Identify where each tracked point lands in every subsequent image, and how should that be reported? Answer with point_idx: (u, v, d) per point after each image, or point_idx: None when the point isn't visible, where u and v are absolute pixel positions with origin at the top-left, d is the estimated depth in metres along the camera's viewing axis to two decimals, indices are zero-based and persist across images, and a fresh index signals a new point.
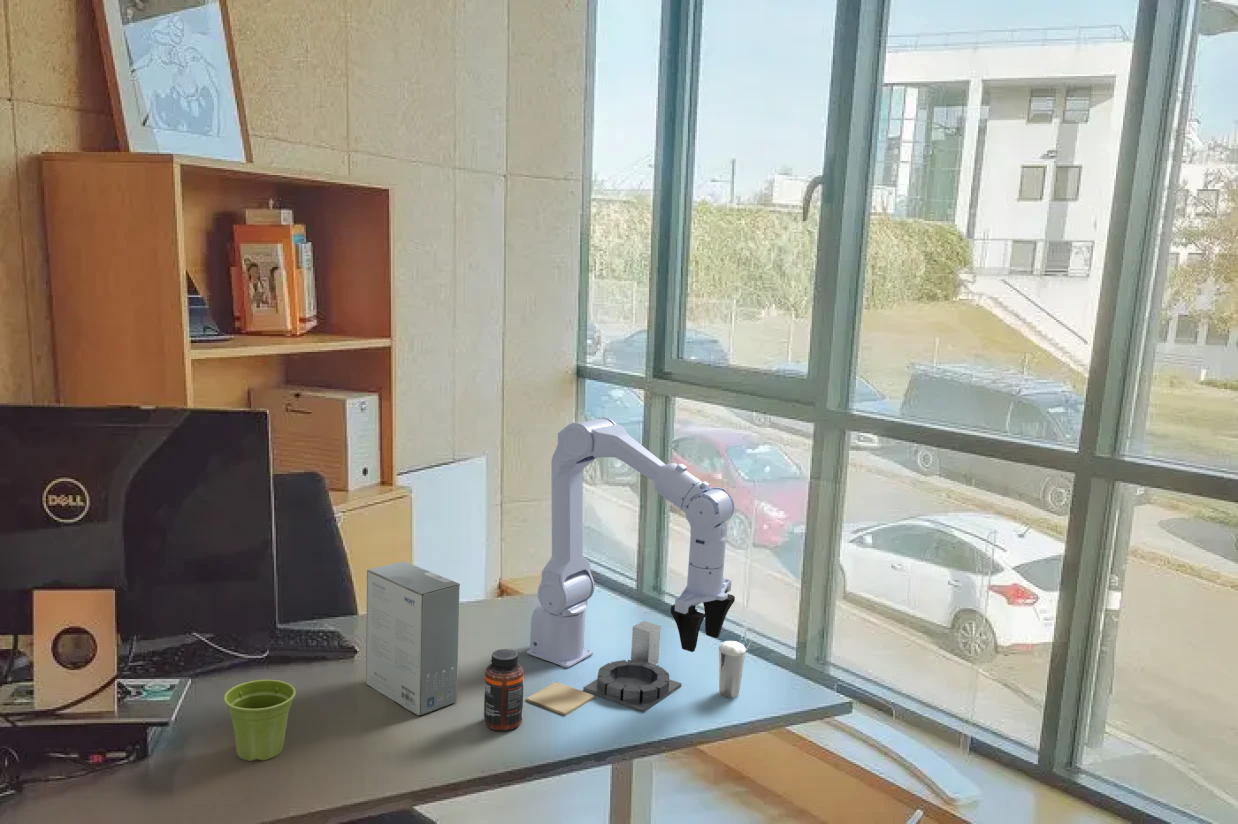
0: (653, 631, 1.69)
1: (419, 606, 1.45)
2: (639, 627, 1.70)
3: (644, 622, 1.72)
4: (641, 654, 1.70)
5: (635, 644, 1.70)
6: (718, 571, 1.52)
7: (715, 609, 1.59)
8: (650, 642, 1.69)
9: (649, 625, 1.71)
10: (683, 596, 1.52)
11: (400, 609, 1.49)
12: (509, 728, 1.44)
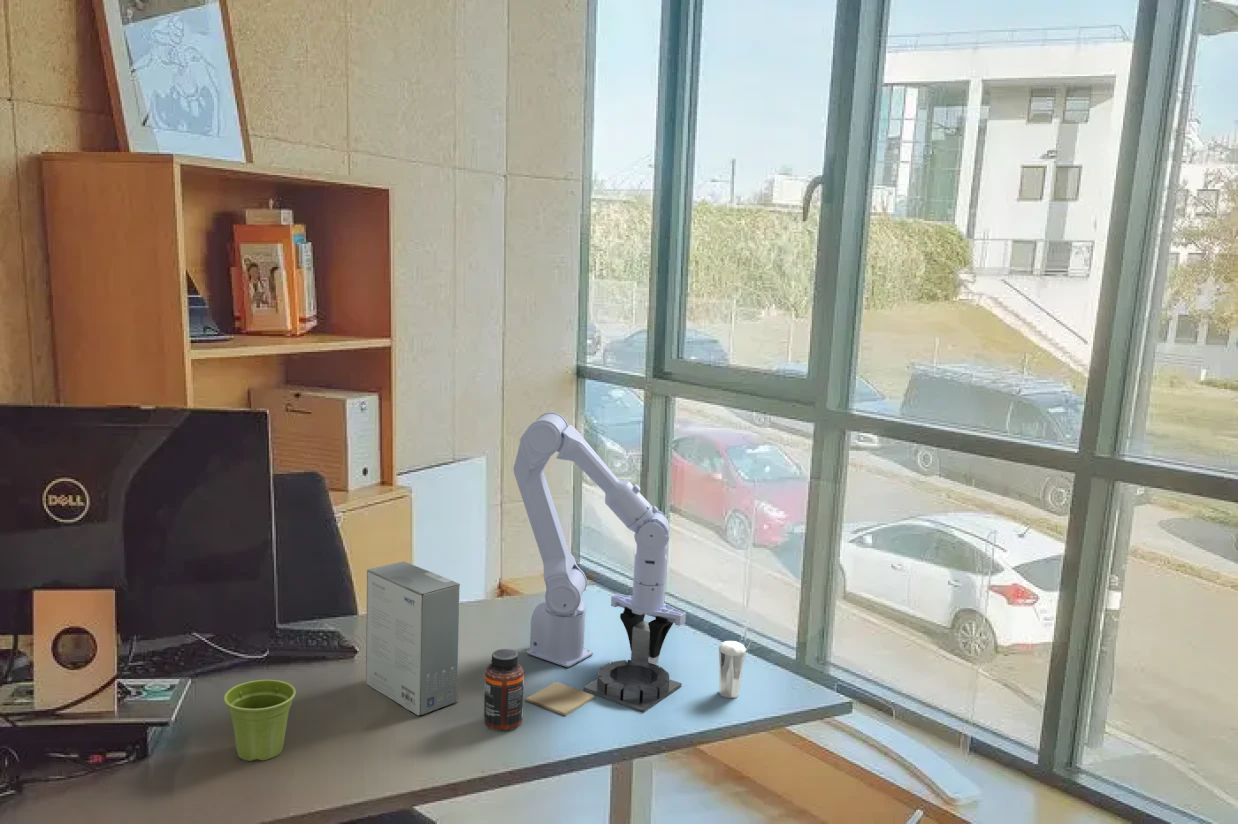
0: None
1: (419, 606, 1.45)
2: (639, 627, 1.70)
3: (644, 622, 1.72)
4: (641, 654, 1.70)
5: (635, 644, 1.70)
6: (637, 586, 1.67)
7: None
8: (650, 642, 1.69)
9: None
10: (628, 597, 1.73)
11: (400, 609, 1.49)
12: (509, 728, 1.44)
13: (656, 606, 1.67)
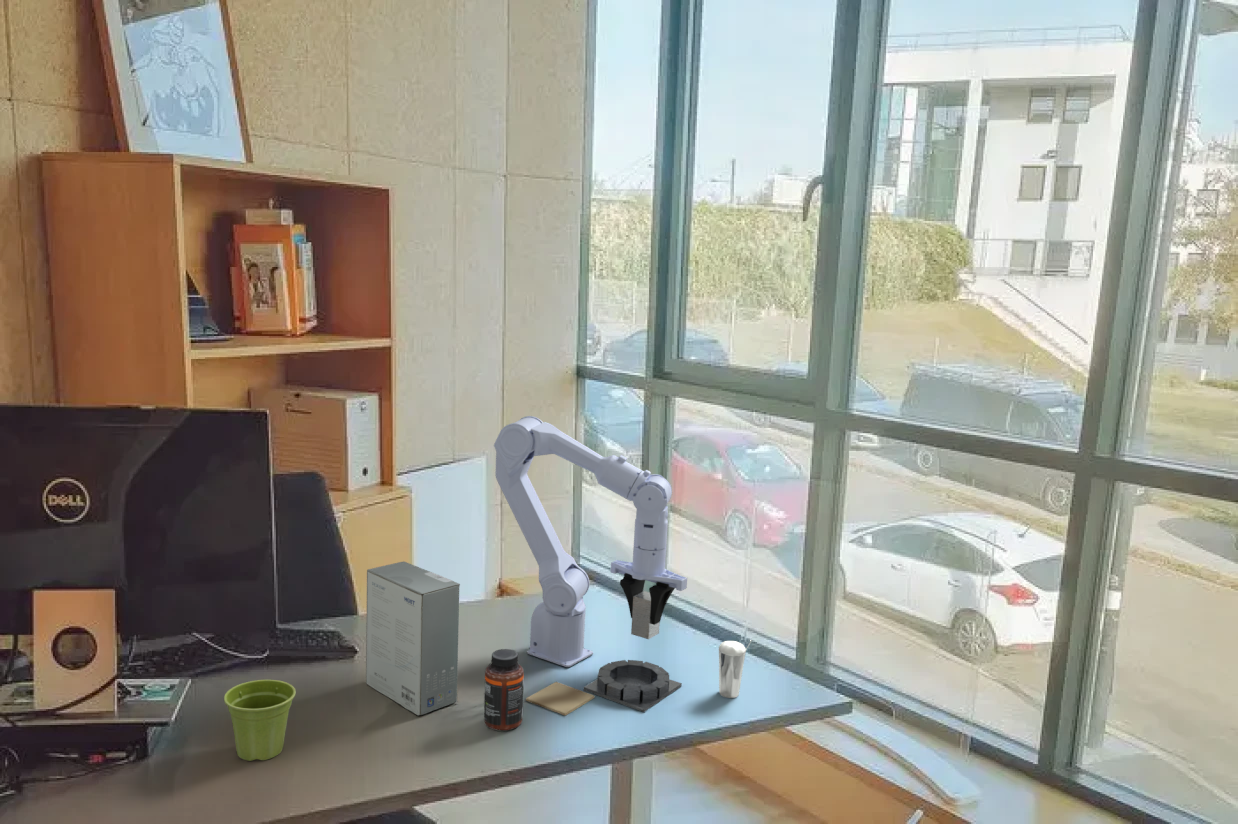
0: None
1: (419, 606, 1.45)
2: (640, 596, 1.67)
3: (645, 592, 1.70)
4: (642, 624, 1.67)
5: (635, 614, 1.67)
6: (638, 551, 1.64)
7: None
8: None
9: None
10: (628, 563, 1.70)
11: (400, 609, 1.49)
12: (509, 728, 1.44)
13: (657, 571, 1.64)
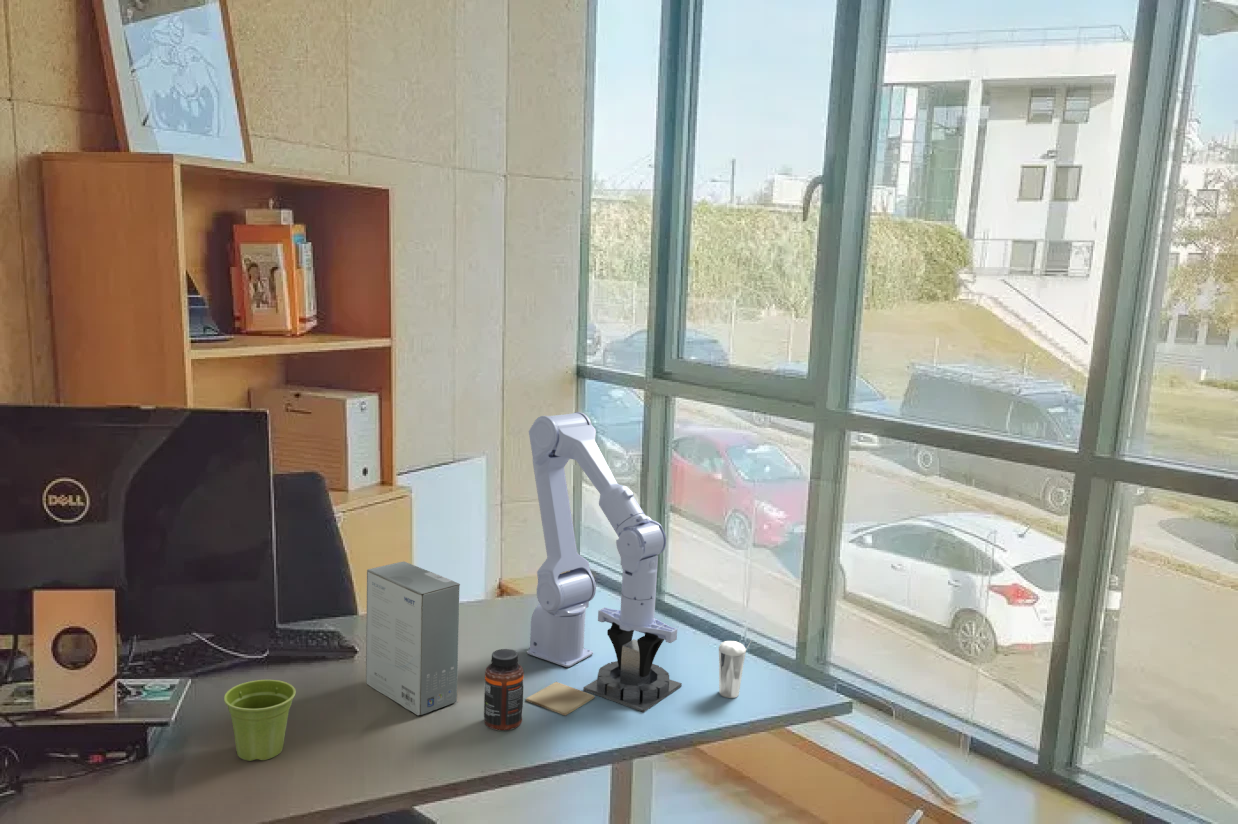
0: None
1: (419, 606, 1.45)
2: (629, 646, 1.60)
3: (634, 641, 1.62)
4: (631, 675, 1.59)
5: (624, 664, 1.60)
6: (625, 600, 1.57)
7: None
8: None
9: None
10: None
11: (400, 609, 1.49)
12: (509, 728, 1.44)
13: (645, 622, 1.57)
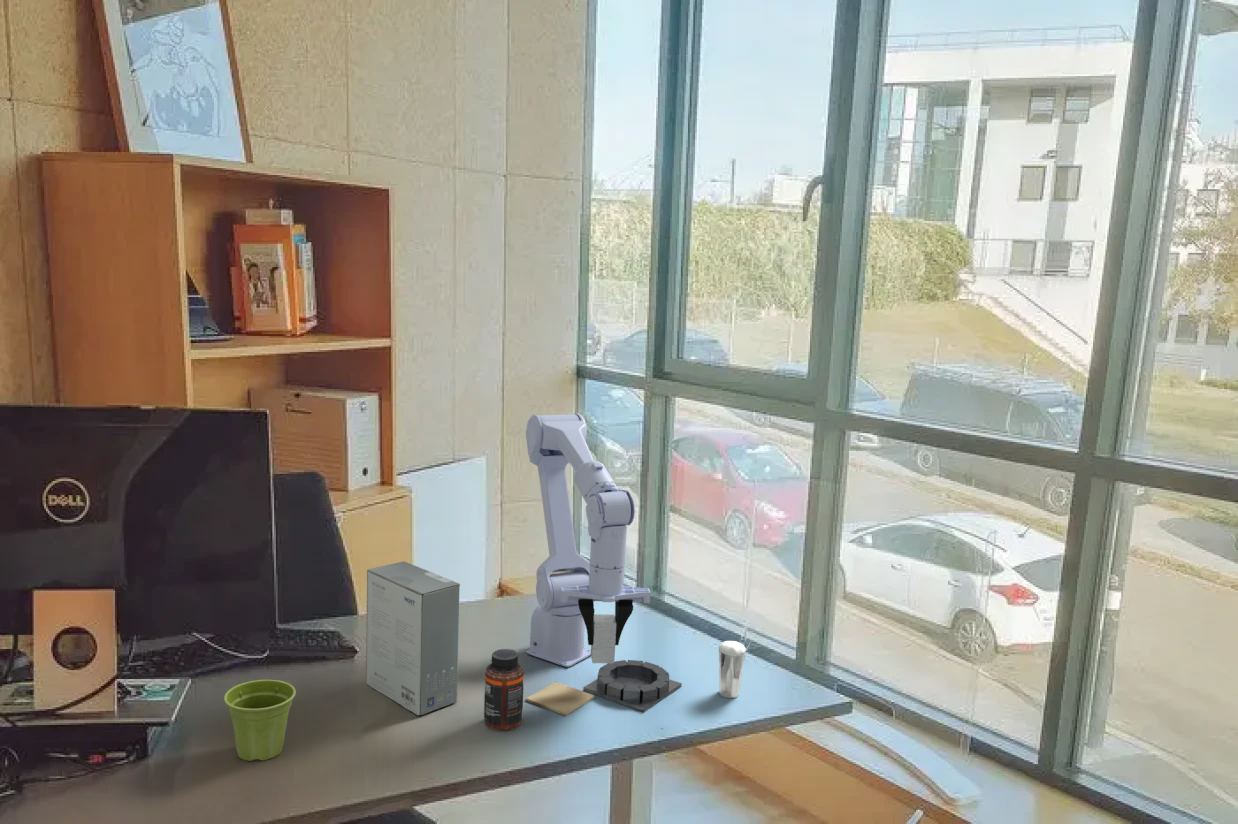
0: (615, 621, 1.57)
1: (419, 606, 1.45)
2: (601, 621, 1.56)
3: (596, 615, 1.58)
4: (606, 649, 1.56)
5: (597, 640, 1.56)
6: (604, 572, 1.52)
7: (616, 615, 1.57)
8: (615, 634, 1.56)
9: (605, 617, 1.58)
10: (576, 588, 1.56)
11: (400, 609, 1.49)
12: (509, 728, 1.44)
13: (622, 589, 1.55)
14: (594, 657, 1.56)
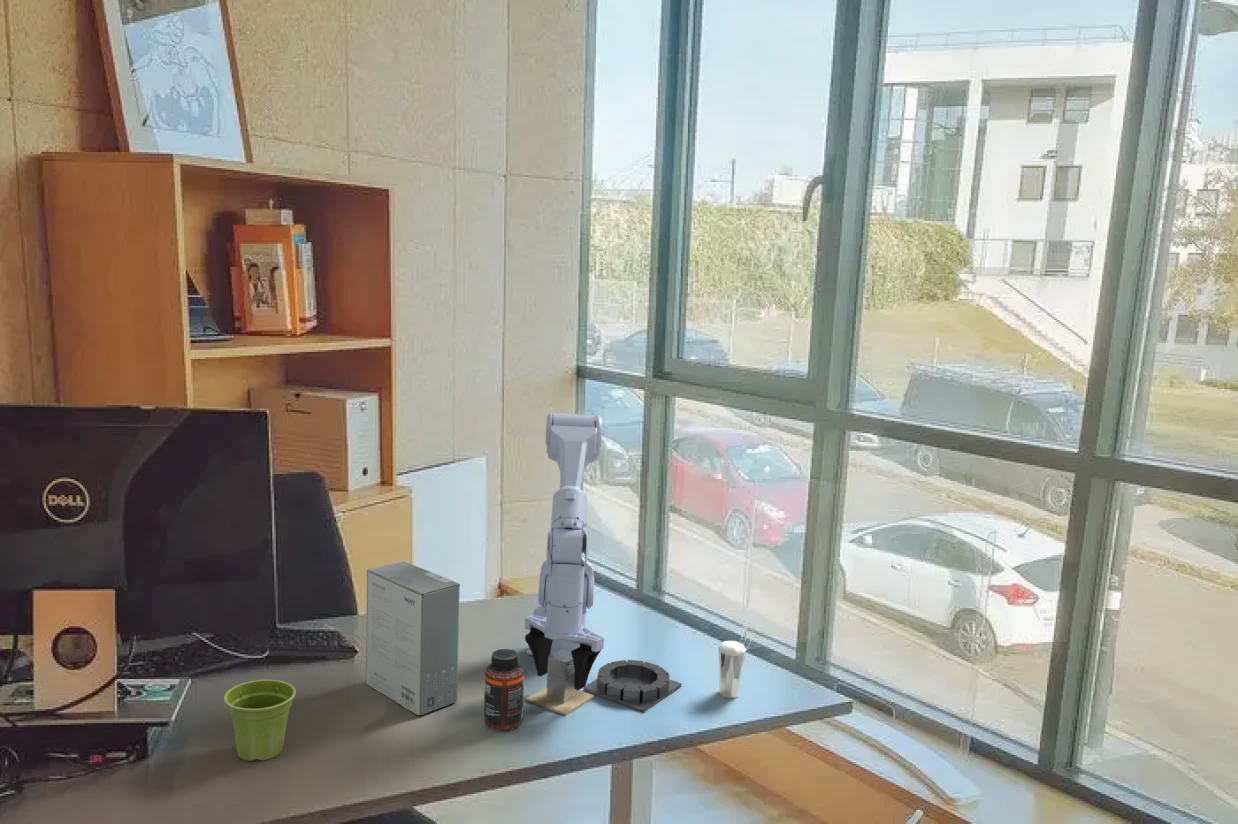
0: (570, 661, 1.54)
1: (419, 606, 1.45)
2: (555, 657, 1.54)
3: (562, 651, 1.57)
4: (557, 686, 1.54)
5: (550, 675, 1.55)
6: (550, 607, 1.51)
7: None
8: (566, 674, 1.53)
9: (567, 655, 1.55)
10: (544, 619, 1.57)
11: (400, 609, 1.49)
12: (509, 728, 1.44)
13: (571, 630, 1.51)
14: (548, 691, 1.55)
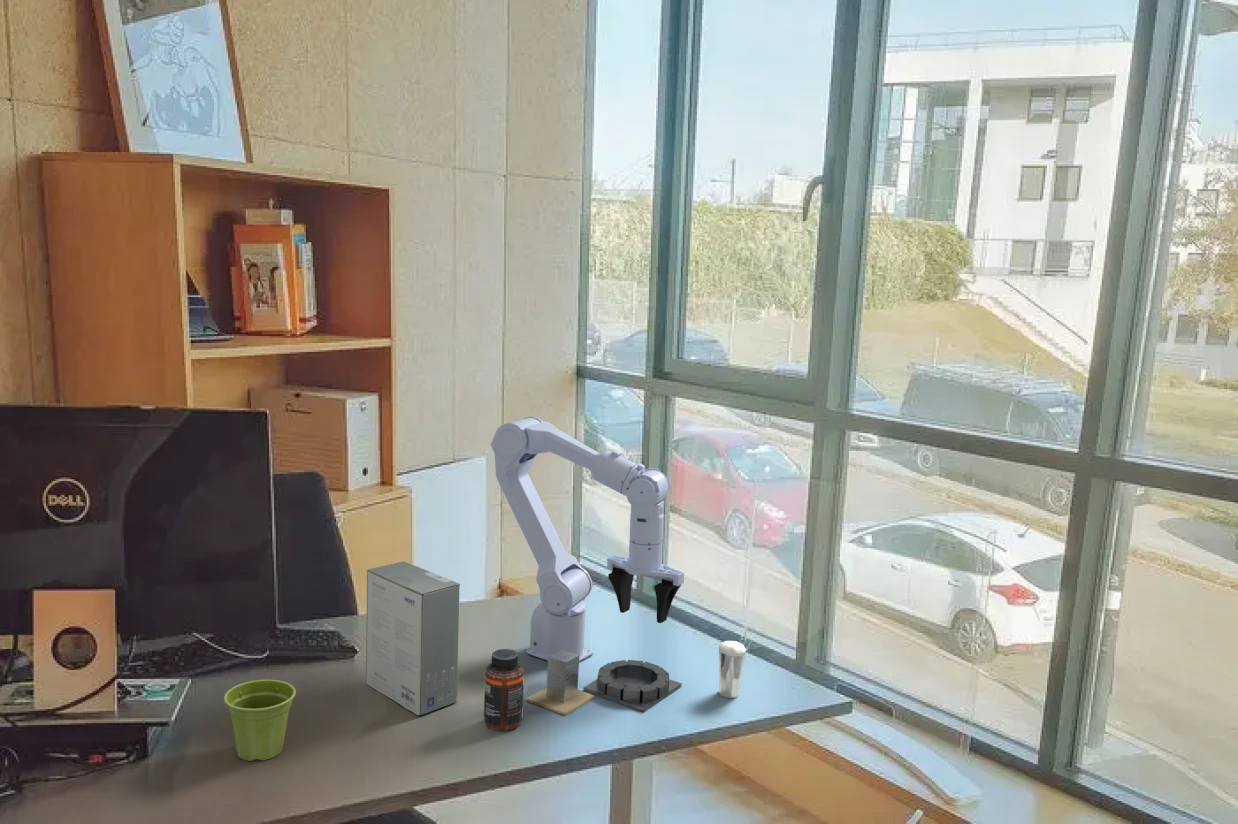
0: (570, 661, 1.54)
1: (419, 606, 1.45)
2: (555, 657, 1.54)
3: (562, 651, 1.57)
4: (557, 686, 1.54)
5: (550, 675, 1.55)
6: (633, 546, 1.62)
7: None
8: (566, 674, 1.53)
9: (567, 655, 1.55)
10: (625, 559, 1.68)
11: (400, 609, 1.49)
12: (509, 728, 1.44)
13: (653, 566, 1.62)
14: (548, 691, 1.55)
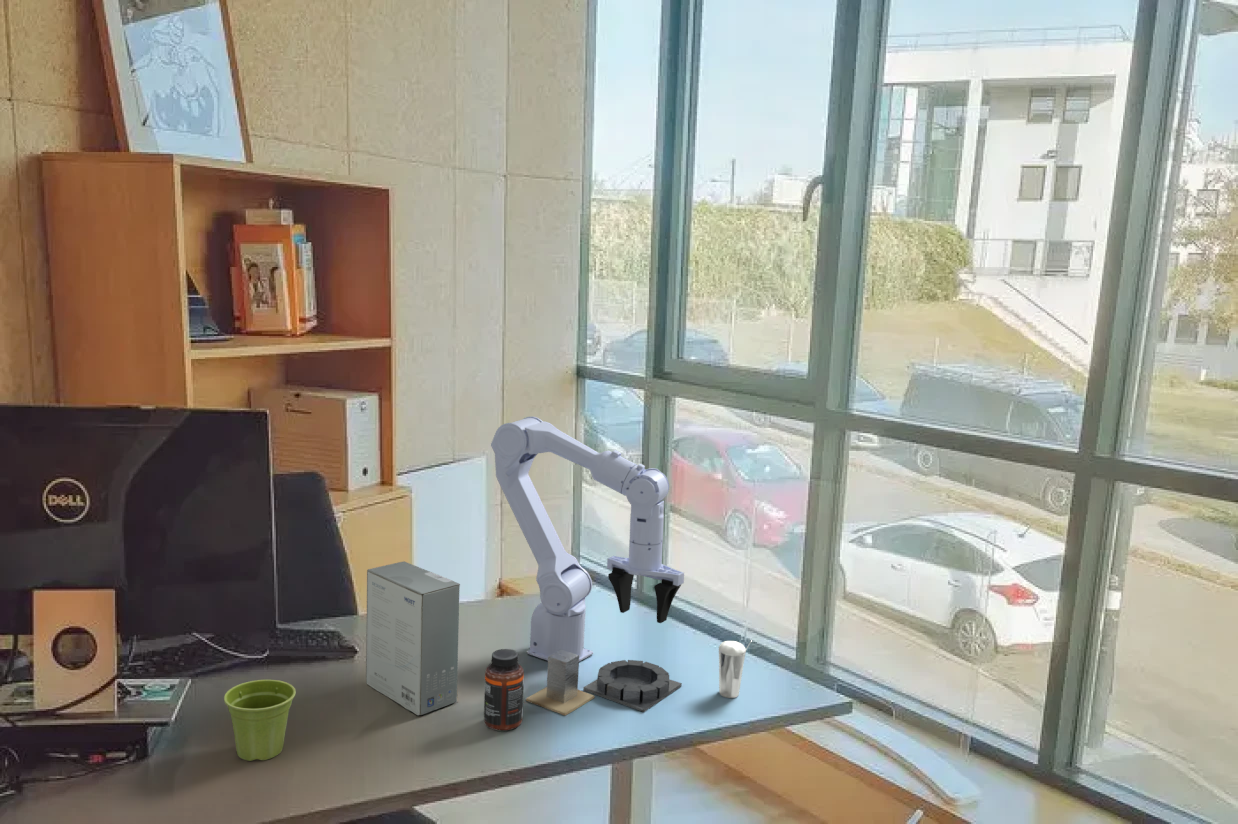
0: (570, 661, 1.54)
1: (419, 606, 1.45)
2: (555, 657, 1.54)
3: (562, 651, 1.57)
4: (557, 686, 1.54)
5: (550, 675, 1.55)
6: (633, 546, 1.62)
7: None
8: (566, 674, 1.53)
9: (567, 655, 1.55)
10: (625, 559, 1.68)
11: (400, 609, 1.49)
12: (509, 728, 1.44)
13: (653, 566, 1.62)
14: (548, 691, 1.55)
